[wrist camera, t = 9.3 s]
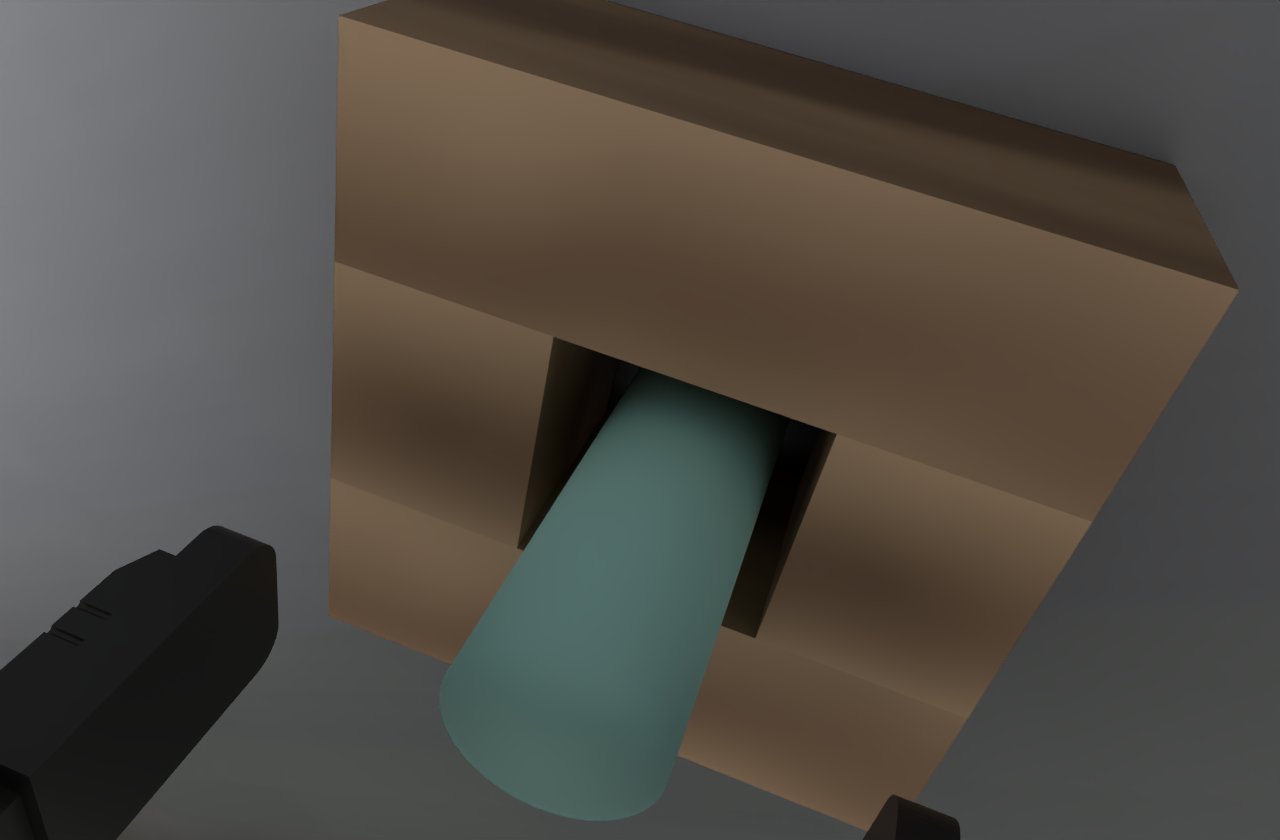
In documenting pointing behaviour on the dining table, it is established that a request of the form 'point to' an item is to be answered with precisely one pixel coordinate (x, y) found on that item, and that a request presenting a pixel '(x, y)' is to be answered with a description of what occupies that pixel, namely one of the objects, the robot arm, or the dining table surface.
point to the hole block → (742, 350)
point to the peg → (615, 605)
